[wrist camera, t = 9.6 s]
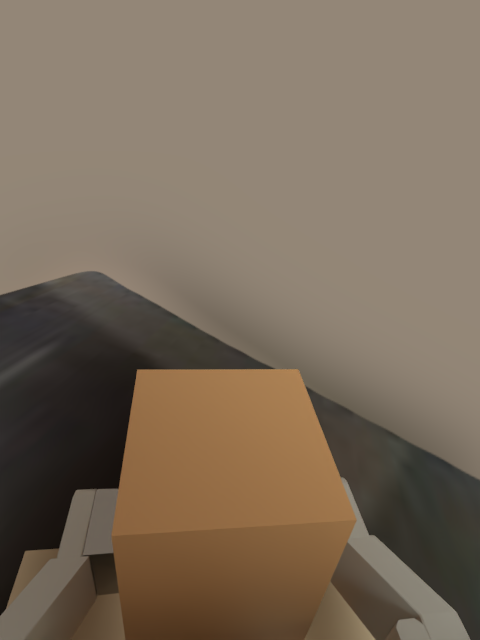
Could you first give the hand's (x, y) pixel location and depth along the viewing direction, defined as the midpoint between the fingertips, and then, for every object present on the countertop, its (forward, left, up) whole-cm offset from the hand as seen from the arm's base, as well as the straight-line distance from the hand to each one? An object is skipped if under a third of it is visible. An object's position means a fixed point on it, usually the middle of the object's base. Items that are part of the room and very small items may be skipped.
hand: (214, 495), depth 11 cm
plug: (+1, 0, -11) cm, 11 cm away
